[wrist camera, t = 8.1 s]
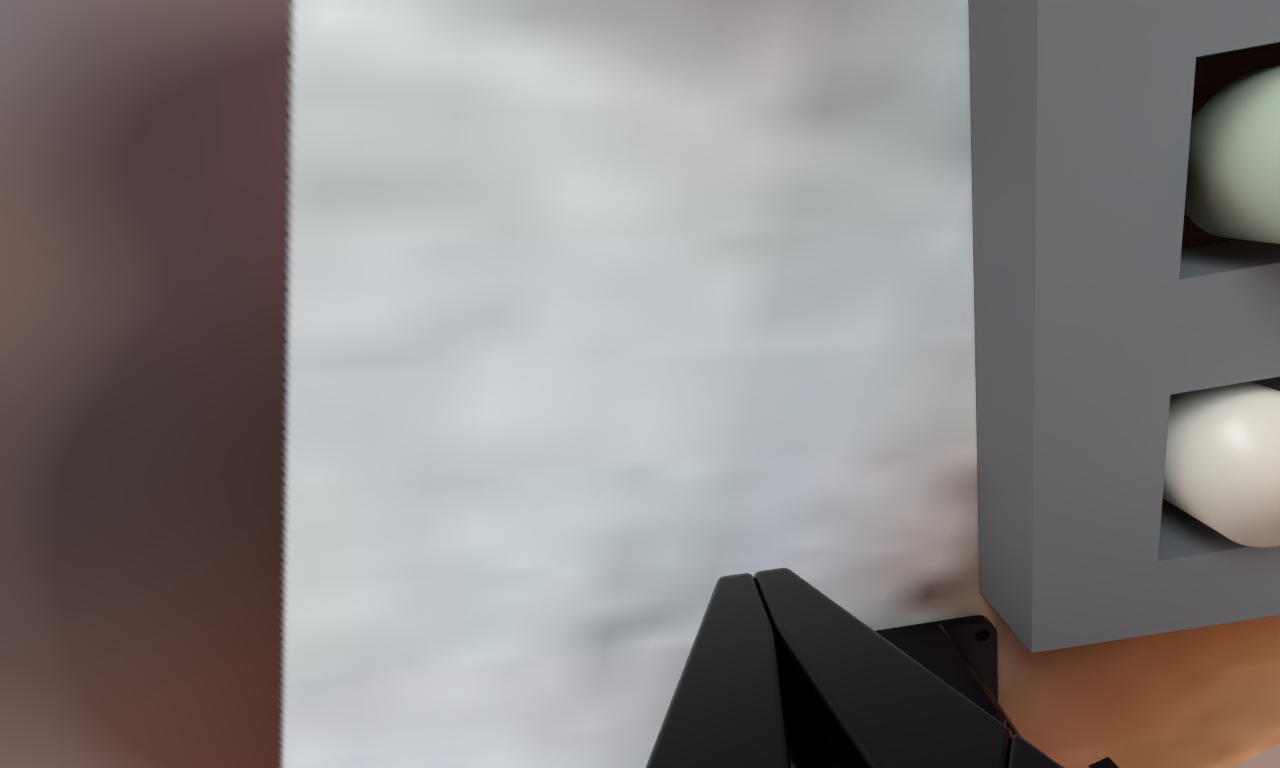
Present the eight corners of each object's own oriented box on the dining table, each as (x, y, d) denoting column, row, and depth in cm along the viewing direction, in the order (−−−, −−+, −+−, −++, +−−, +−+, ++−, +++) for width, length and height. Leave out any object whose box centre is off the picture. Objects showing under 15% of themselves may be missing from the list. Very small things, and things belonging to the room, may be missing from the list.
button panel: (1344, 534, 22) (1451, 588, 19) (979, 591, 22) (1031, 653, 20) (1527, -532, 14) (1756, -711, 11) (961, -415, 15) (1043, -558, 12)
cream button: (1251, 483, 20) (1353, 534, 18) (1120, 504, 21) (1199, 558, 18) (1267, 360, 19) (1378, 392, 16) (1127, 383, 19) (1213, 420, 17)
